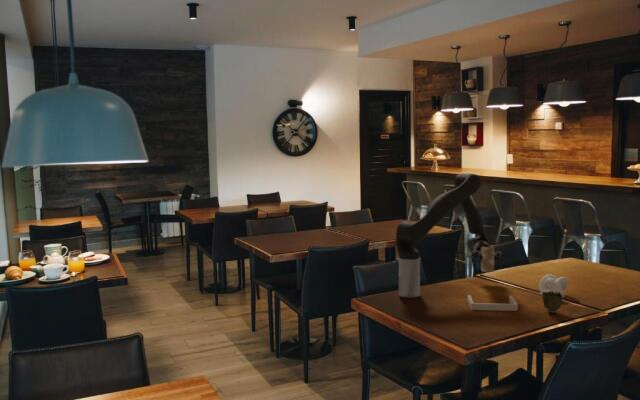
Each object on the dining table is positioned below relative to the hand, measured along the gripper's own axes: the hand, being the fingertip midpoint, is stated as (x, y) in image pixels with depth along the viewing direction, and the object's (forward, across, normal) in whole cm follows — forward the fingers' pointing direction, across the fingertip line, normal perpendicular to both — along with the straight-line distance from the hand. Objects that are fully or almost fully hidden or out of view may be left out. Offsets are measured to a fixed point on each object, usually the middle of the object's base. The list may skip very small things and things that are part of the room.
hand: (488, 258), depth 249 cm
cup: (+20, +22, +18) cm, 34 cm away
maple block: (-3, 0, +6) cm, 7 cm away
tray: (+11, 0, +18) cm, 21 cm away
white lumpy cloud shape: (-5, +28, +18) cm, 34 cm away
